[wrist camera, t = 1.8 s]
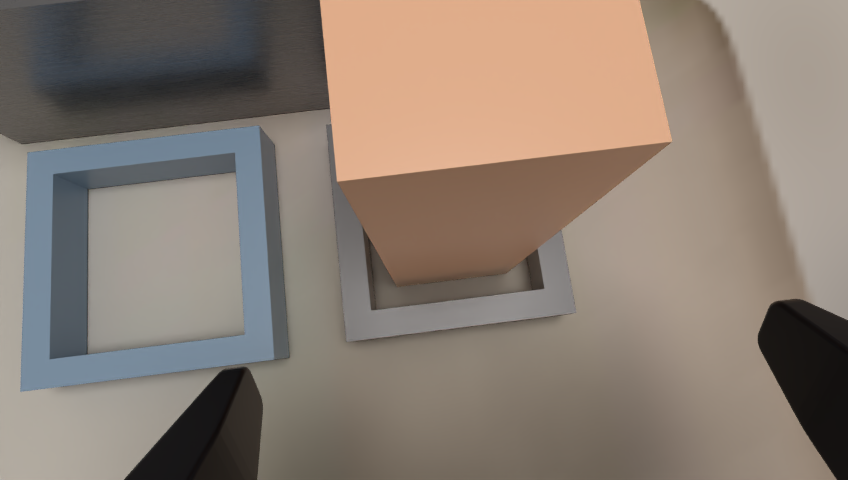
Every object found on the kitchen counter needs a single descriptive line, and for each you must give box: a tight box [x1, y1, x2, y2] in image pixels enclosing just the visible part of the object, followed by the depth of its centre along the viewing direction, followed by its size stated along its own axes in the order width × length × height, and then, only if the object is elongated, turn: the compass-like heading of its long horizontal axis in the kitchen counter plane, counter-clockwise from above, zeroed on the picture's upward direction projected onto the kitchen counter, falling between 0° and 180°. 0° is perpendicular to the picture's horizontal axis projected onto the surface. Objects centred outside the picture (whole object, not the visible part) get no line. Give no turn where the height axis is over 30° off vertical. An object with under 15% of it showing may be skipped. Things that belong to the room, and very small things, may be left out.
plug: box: [320, 0, 672, 287], centre depth 14 cm, size 5×4×14 cm
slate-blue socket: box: [20, 126, 289, 392], centre depth 20 cm, size 9×9×2 cm
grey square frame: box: [326, 124, 576, 342], centre depth 20 cm, size 8×8×2 cm
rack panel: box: [0, 0, 330, 144], centre depth 18 cm, size 1×24×8 cm, turn 98°
